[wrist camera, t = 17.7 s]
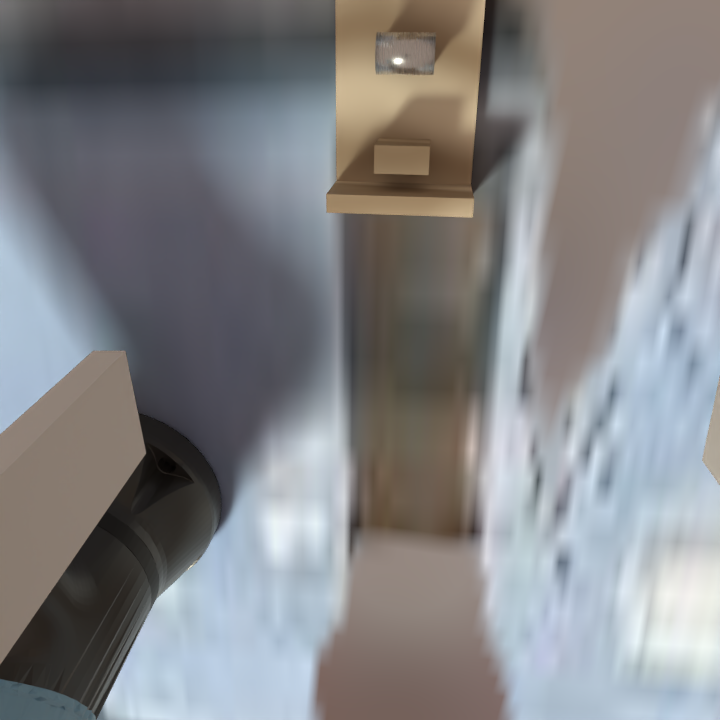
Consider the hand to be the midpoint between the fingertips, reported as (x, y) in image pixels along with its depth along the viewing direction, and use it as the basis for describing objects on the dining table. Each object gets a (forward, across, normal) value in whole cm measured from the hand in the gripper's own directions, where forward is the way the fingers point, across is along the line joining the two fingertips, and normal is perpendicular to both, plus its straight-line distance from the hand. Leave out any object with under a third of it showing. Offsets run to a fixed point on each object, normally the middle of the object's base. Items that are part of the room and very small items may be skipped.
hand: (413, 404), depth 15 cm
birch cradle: (+28, 0, -7) cm, 29 cm away
